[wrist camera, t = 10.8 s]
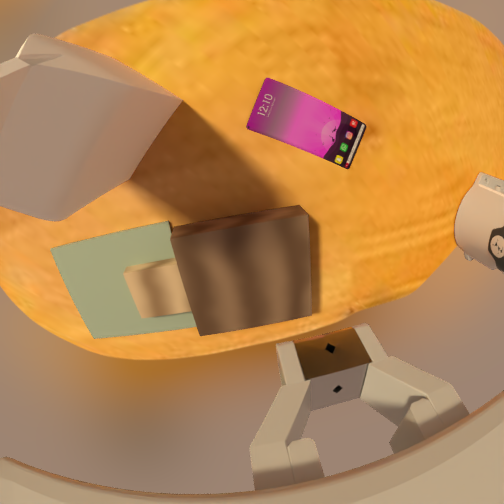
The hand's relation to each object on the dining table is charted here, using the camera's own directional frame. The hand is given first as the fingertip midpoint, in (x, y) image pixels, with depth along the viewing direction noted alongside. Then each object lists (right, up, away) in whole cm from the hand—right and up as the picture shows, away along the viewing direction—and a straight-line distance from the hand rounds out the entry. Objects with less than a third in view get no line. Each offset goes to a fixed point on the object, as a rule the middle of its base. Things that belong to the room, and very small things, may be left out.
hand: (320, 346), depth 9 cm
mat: (-22, -3, +31) cm, 38 cm away
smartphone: (+5, +19, +25) cm, 32 cm away
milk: (-19, +20, +21) cm, 34 cm away
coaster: (-16, -2, +31) cm, 35 cm away
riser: (-3, +1, +32) cm, 33 cm away
